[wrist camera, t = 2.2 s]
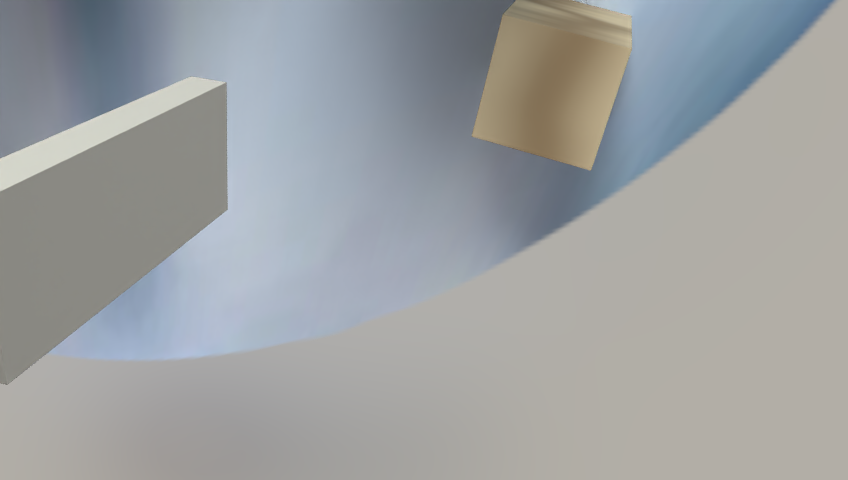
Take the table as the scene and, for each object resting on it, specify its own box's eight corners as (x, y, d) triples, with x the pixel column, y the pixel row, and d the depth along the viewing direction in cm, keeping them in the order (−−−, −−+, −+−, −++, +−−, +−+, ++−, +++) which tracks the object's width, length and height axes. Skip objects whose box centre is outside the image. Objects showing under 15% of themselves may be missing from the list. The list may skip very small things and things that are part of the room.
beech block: (500, 90, 39) (471, 136, 32) (526, -12, 37) (502, 14, 30) (597, 117, 39) (590, 170, 32) (631, 15, 36) (631, 48, 29)
